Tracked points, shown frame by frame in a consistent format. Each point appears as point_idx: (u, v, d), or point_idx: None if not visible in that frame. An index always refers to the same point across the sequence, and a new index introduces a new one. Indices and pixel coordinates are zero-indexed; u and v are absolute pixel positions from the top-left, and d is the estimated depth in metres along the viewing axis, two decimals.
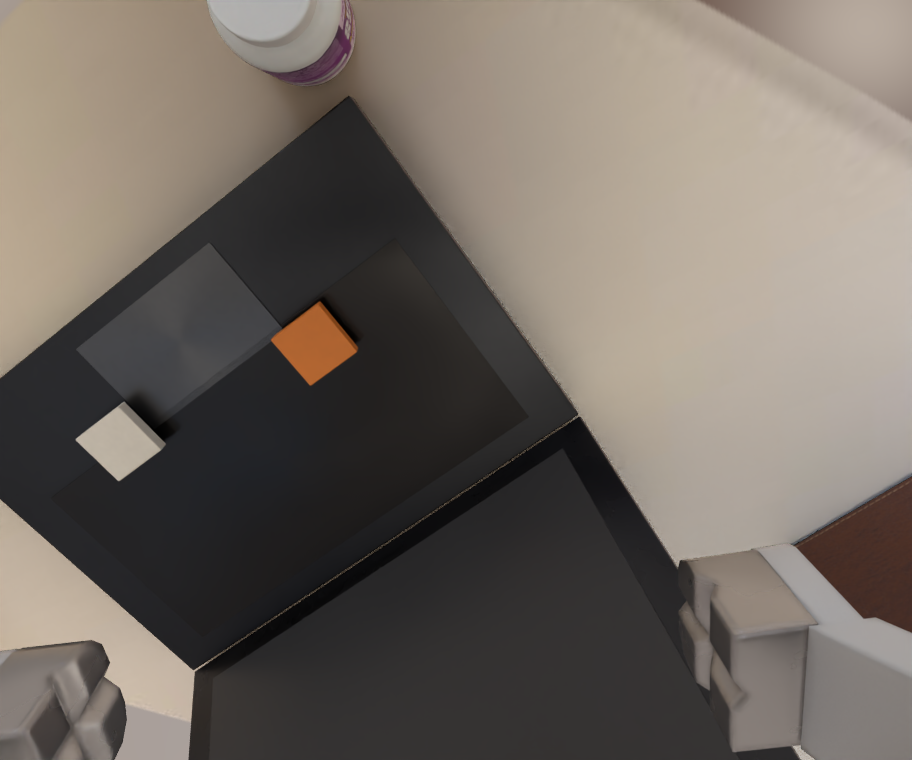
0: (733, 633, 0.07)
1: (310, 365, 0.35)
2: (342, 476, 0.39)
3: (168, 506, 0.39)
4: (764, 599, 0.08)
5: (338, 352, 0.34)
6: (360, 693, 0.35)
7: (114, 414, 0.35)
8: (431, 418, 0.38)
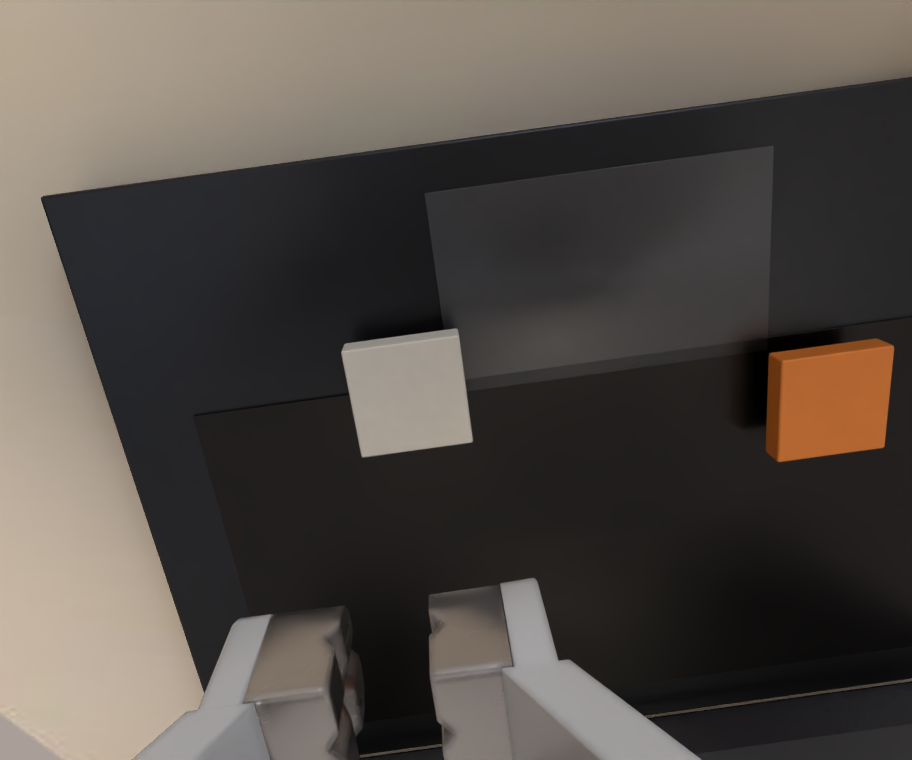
0: (430, 674, 0.07)
1: (805, 432, 0.19)
2: (667, 600, 0.23)
3: (378, 521, 0.21)
4: (477, 638, 0.08)
5: (858, 434, 0.19)
6: None
7: (442, 345, 0.18)
8: (850, 579, 0.23)
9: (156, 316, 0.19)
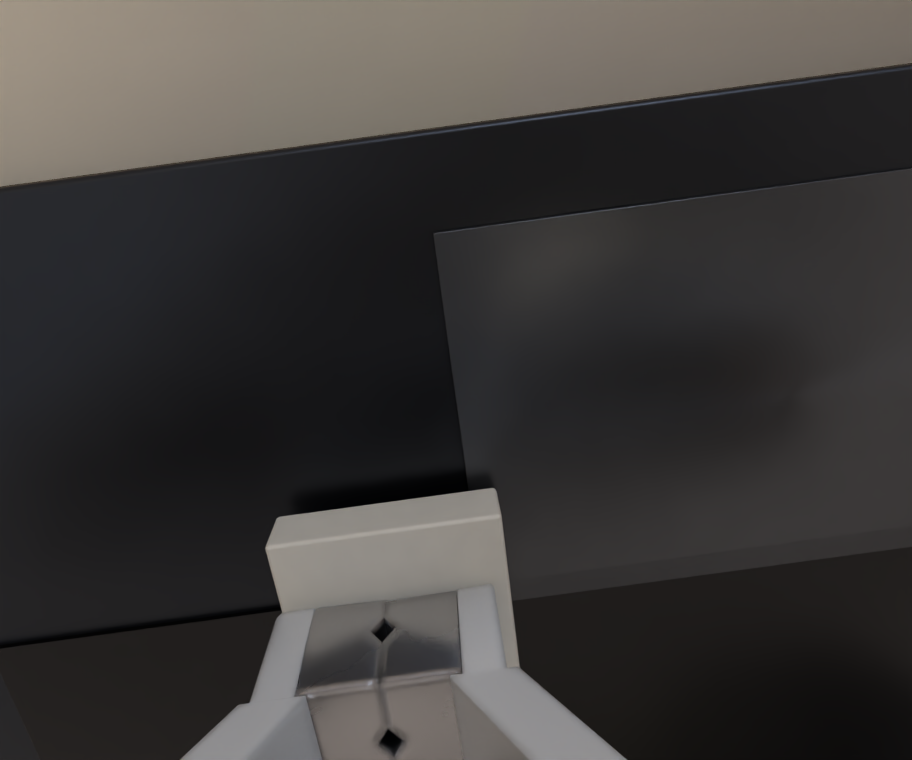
0: (378, 682, 0.07)
1: None
2: None
3: None
4: (429, 645, 0.08)
5: None
6: None
7: (469, 533, 0.09)
8: None
9: None
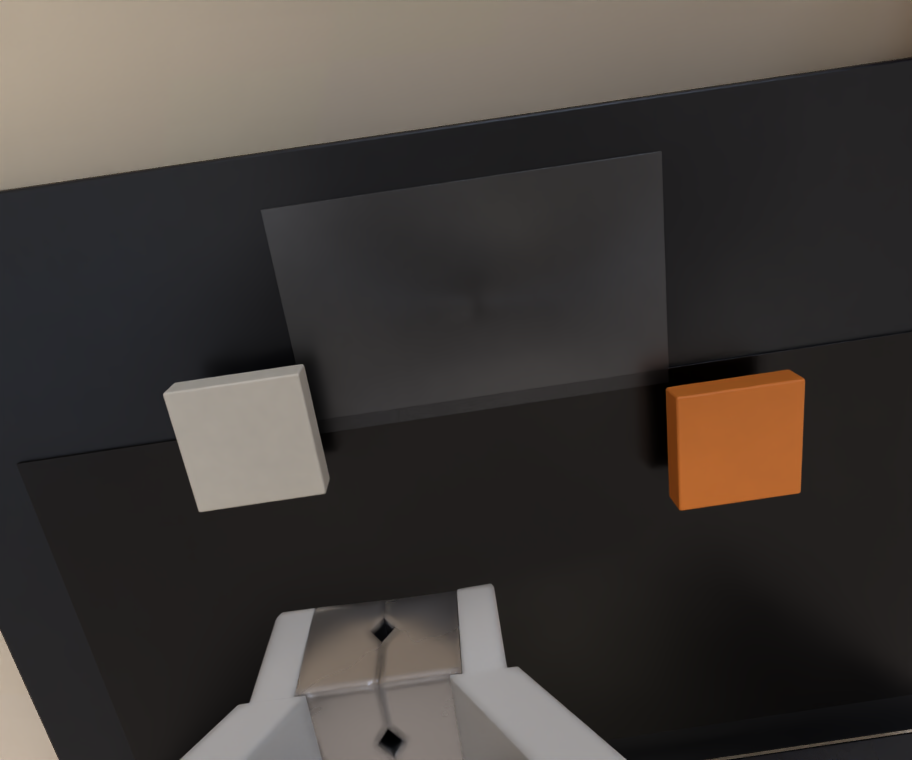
0: (378, 682, 0.07)
1: (708, 477, 0.17)
2: (575, 658, 0.21)
3: (241, 576, 0.19)
4: (428, 645, 0.08)
5: (770, 479, 0.17)
6: None
7: (280, 385, 0.15)
8: (779, 632, 0.21)
9: None
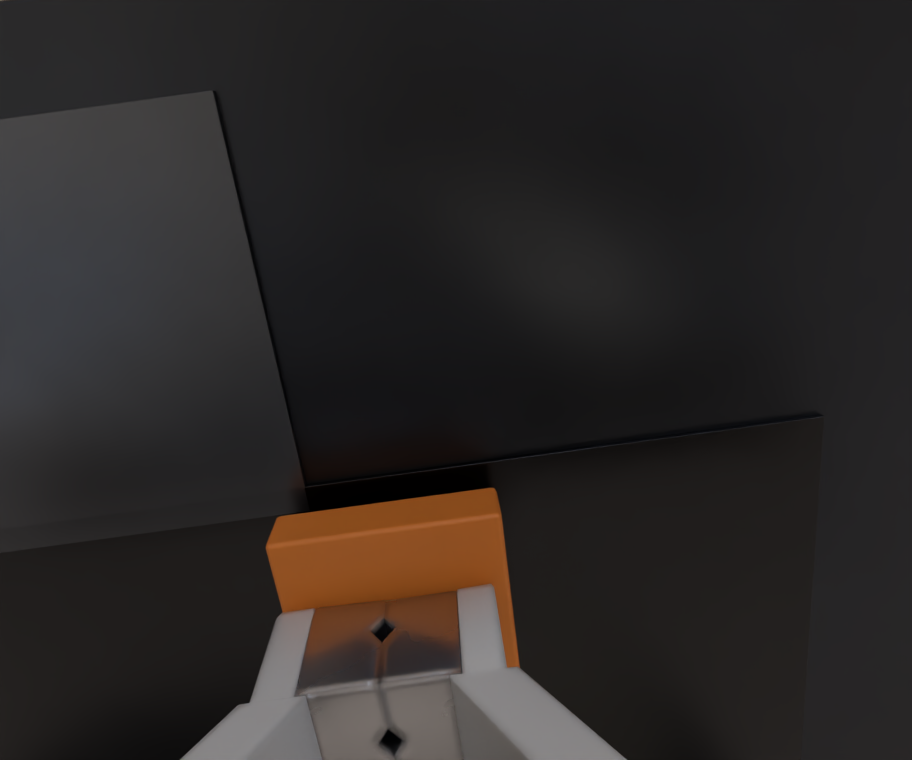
0: (378, 682, 0.07)
1: None
2: None
3: None
4: (429, 645, 0.08)
5: None
6: None
7: None
8: None
9: None
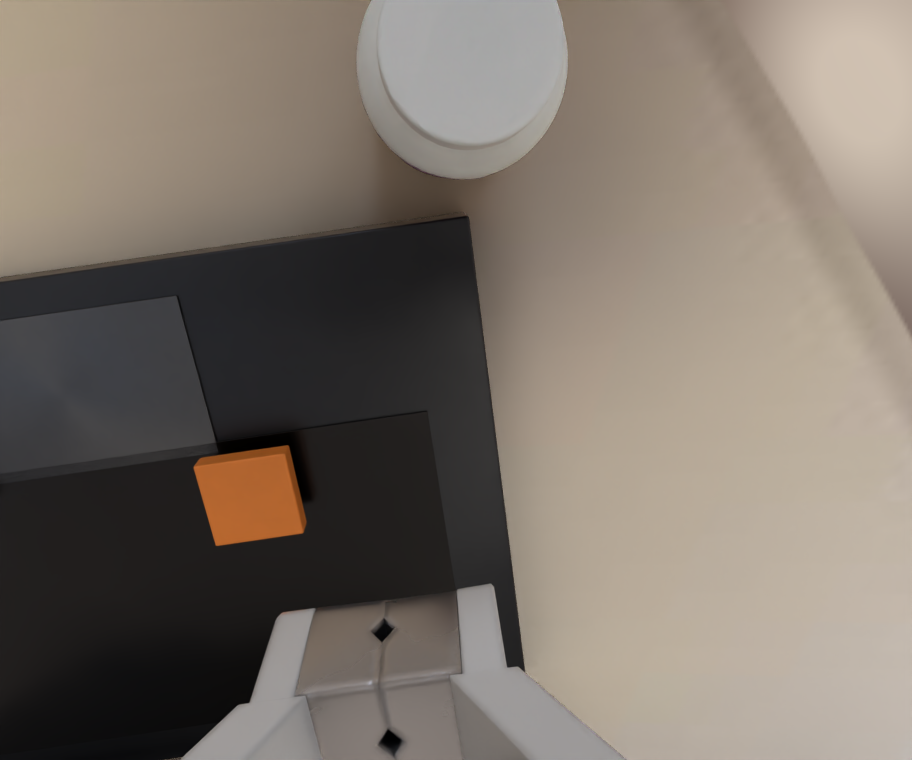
0: (378, 682, 0.07)
1: (230, 522, 0.23)
2: (194, 655, 0.27)
3: None
4: (428, 645, 0.08)
5: (277, 523, 0.23)
6: None
7: None
8: None
9: None
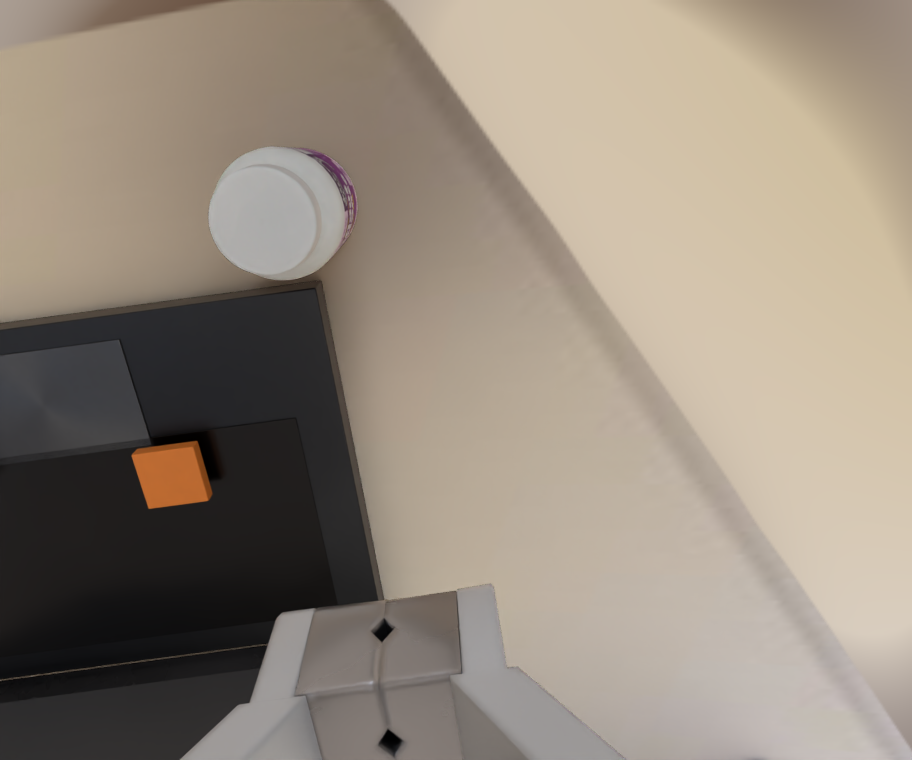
0: (378, 682, 0.07)
1: (158, 492, 0.34)
2: (140, 587, 0.38)
3: None
4: (428, 645, 0.08)
5: (190, 494, 0.34)
6: None
7: None
8: (251, 575, 0.38)
9: None
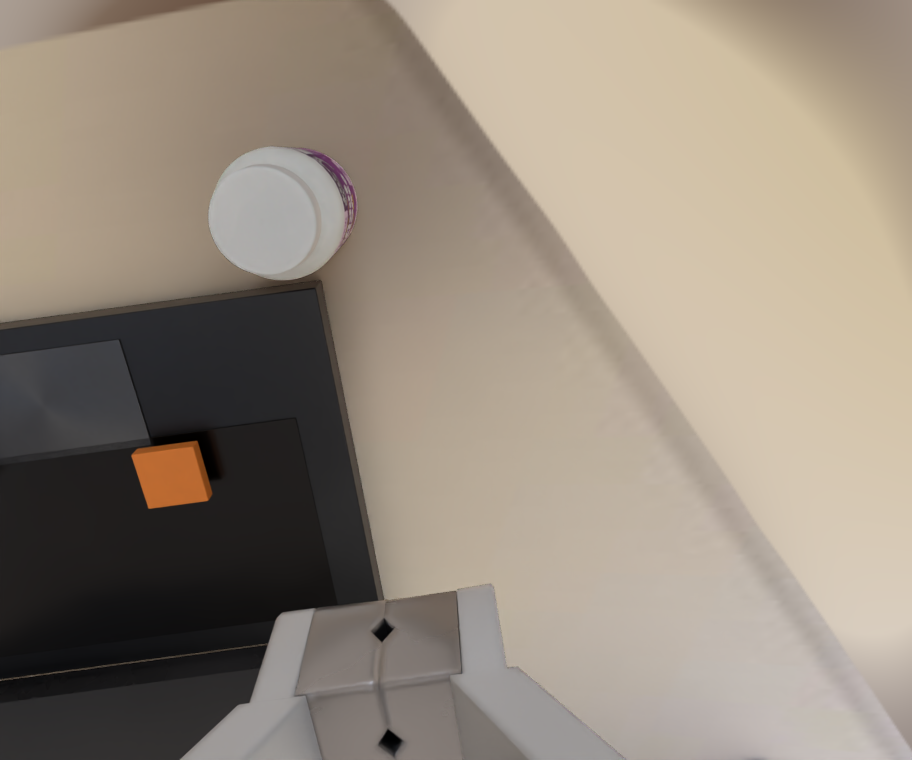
0: (378, 682, 0.07)
1: (157, 492, 0.34)
2: (140, 587, 0.38)
3: None
4: (428, 645, 0.08)
5: (190, 494, 0.34)
6: None
7: None
8: (251, 575, 0.38)
9: None
